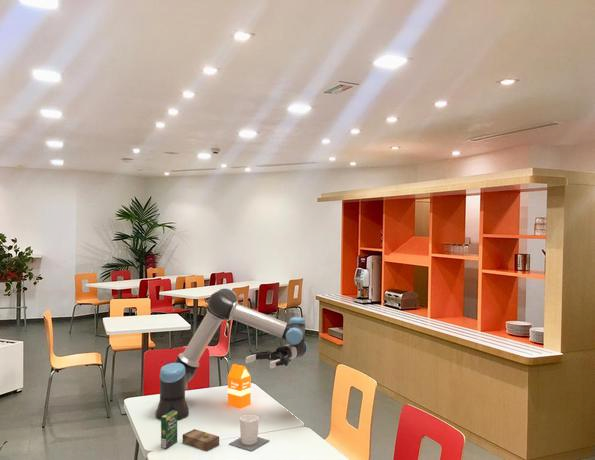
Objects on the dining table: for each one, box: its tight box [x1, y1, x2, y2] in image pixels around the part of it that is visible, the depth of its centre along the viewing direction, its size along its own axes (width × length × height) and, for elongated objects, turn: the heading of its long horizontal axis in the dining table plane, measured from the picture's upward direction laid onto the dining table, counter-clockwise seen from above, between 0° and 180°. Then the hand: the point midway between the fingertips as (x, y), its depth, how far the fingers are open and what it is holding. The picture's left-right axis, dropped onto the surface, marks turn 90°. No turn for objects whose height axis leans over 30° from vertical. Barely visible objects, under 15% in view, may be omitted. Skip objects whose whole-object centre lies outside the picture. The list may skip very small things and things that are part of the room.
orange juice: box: [227, 363, 252, 409], centre depth 256 cm, size 8×9×20 cm
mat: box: [228, 436, 270, 453], centre depth 210 cm, size 12×12×1 cm
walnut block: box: [182, 428, 220, 452], centre depth 209 cm, size 14×7×5 cm, turn 57°
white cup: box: [239, 414, 260, 445], centre depth 210 cm, size 8×8×10 cm
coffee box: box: [160, 410, 178, 450], centre depth 208 cm, size 8×3×13 cm, turn 159°
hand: (258, 362), depth 223 cm, fingers open, 13 cm apart
